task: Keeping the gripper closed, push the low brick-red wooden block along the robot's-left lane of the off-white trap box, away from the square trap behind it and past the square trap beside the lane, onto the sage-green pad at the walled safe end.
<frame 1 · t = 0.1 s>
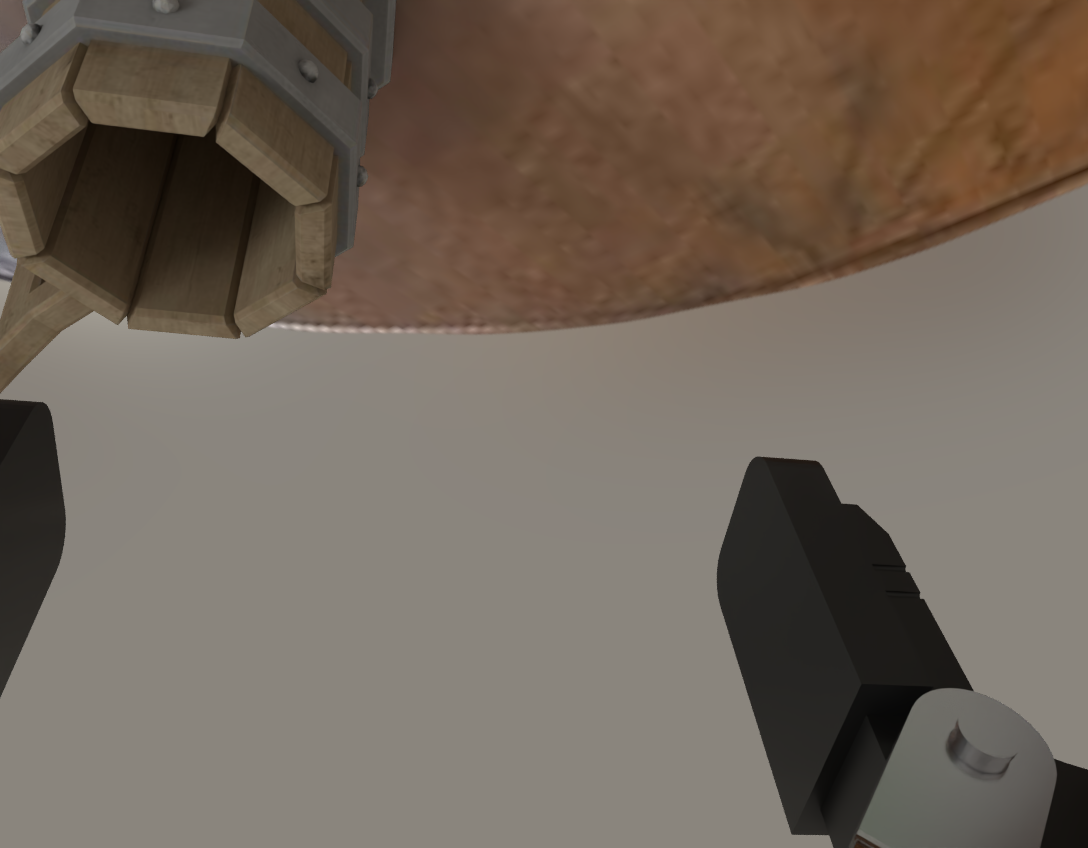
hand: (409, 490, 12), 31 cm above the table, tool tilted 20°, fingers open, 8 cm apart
tankard: (173, 25, 42), on the table
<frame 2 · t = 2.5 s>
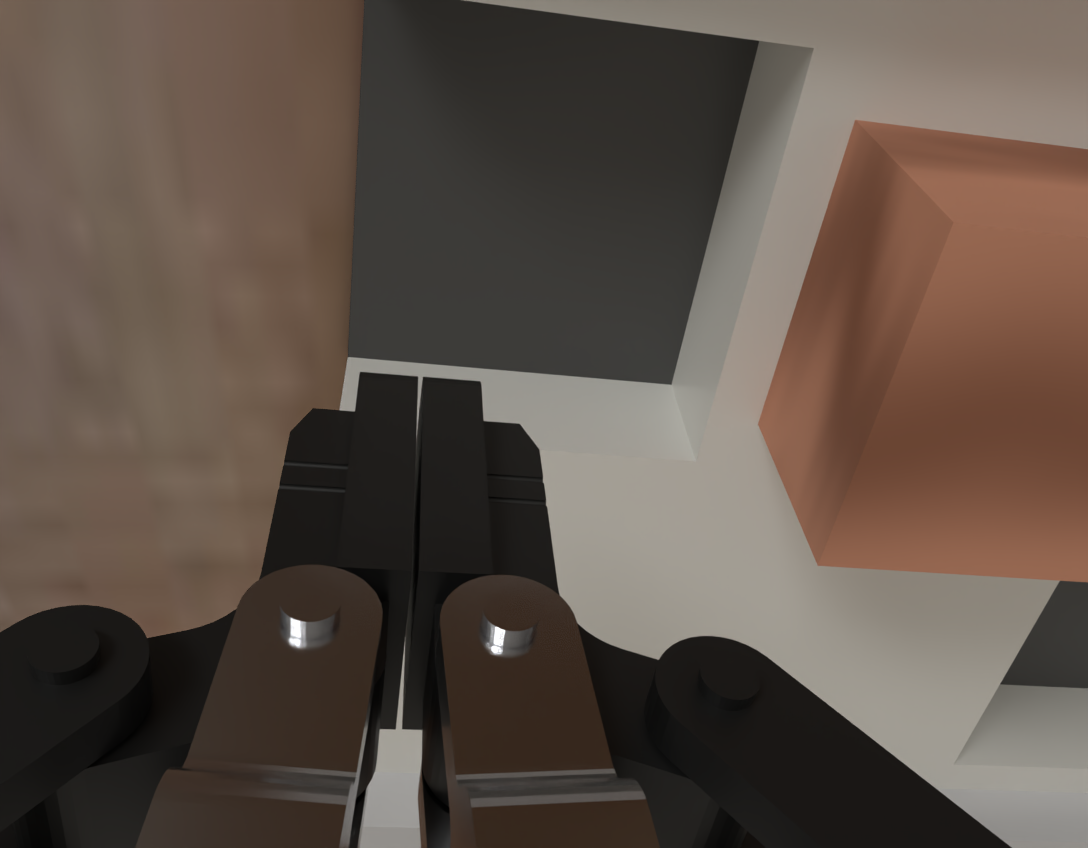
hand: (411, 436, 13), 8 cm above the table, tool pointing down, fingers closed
trap box: (1082, 415, 24), on the table
block: (959, 301, 19), point 3 cm above the table, touching trap box
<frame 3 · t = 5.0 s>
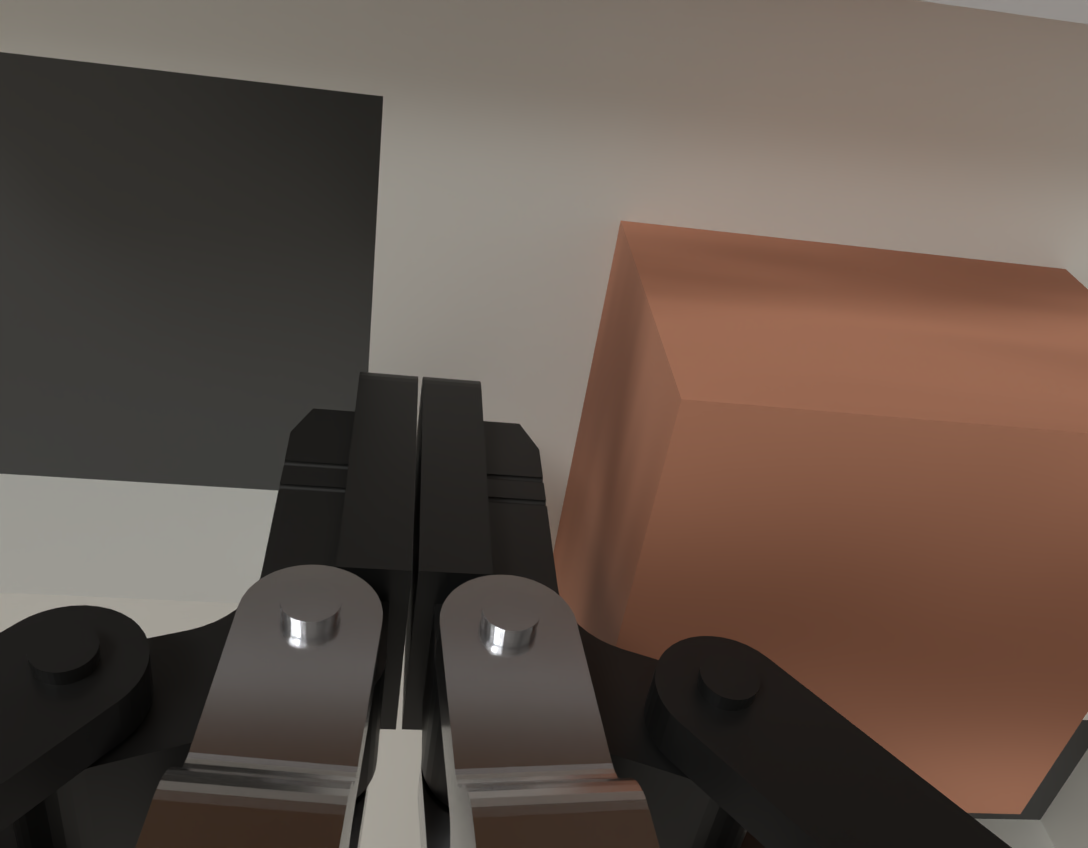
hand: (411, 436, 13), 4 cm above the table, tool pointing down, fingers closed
trap box: (891, 521, 20), on the table
block: (785, 437, 15), point 3 cm above the table, touching gripper
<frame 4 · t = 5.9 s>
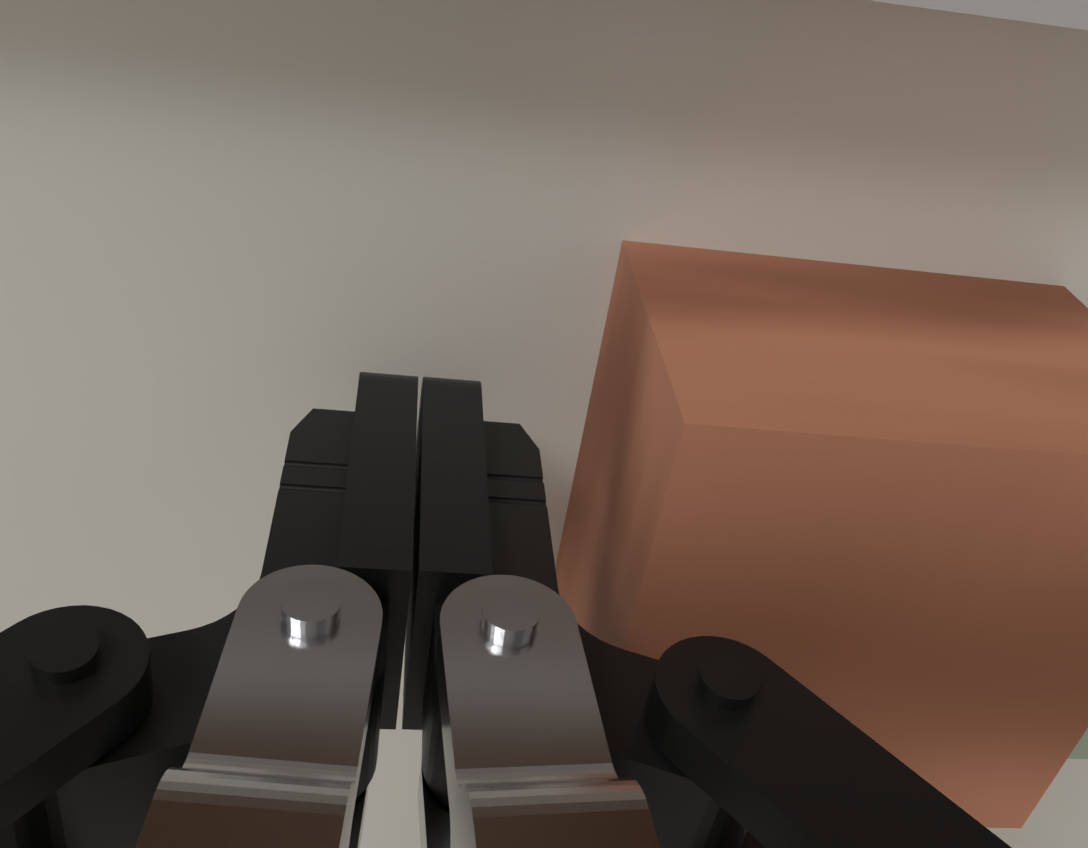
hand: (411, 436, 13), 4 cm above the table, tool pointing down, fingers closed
trap box: (618, 509, 19), on the table
block: (786, 452, 15), point 3 cm above the table, touching trap box
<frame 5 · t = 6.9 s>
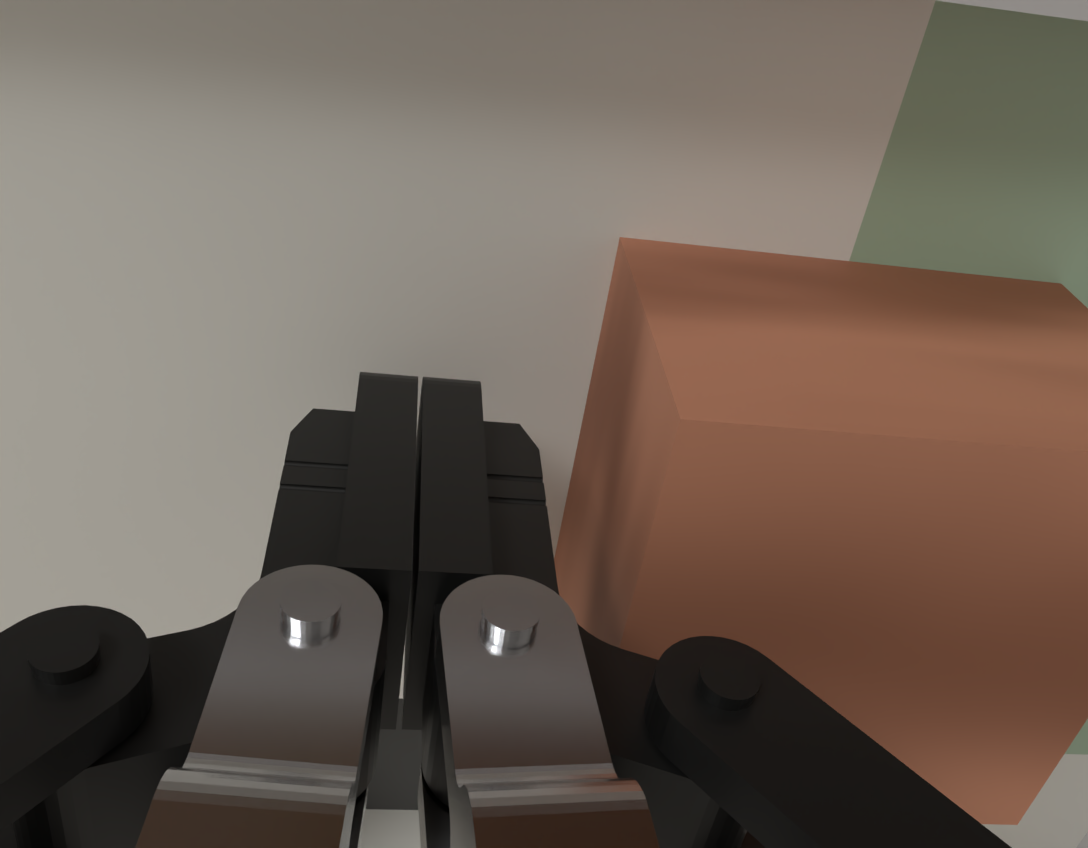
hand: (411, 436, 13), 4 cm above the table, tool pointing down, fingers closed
trap box: (310, 486, 18), on the table
block: (783, 449, 15), point 3 cm above the table, touching gripper
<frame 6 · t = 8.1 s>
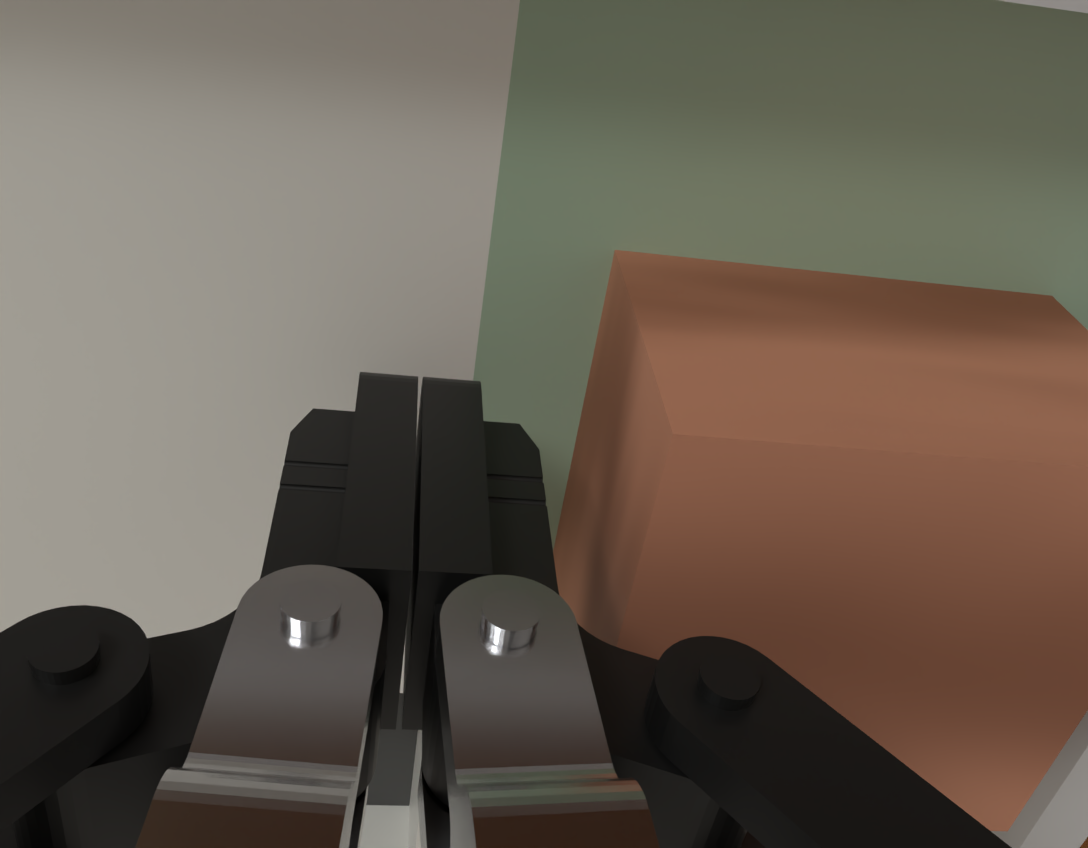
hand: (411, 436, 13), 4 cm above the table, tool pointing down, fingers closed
trap box: (33, 463, 18), on the table
block: (777, 458, 15), point 3 cm above the table, touching gripper, trap box
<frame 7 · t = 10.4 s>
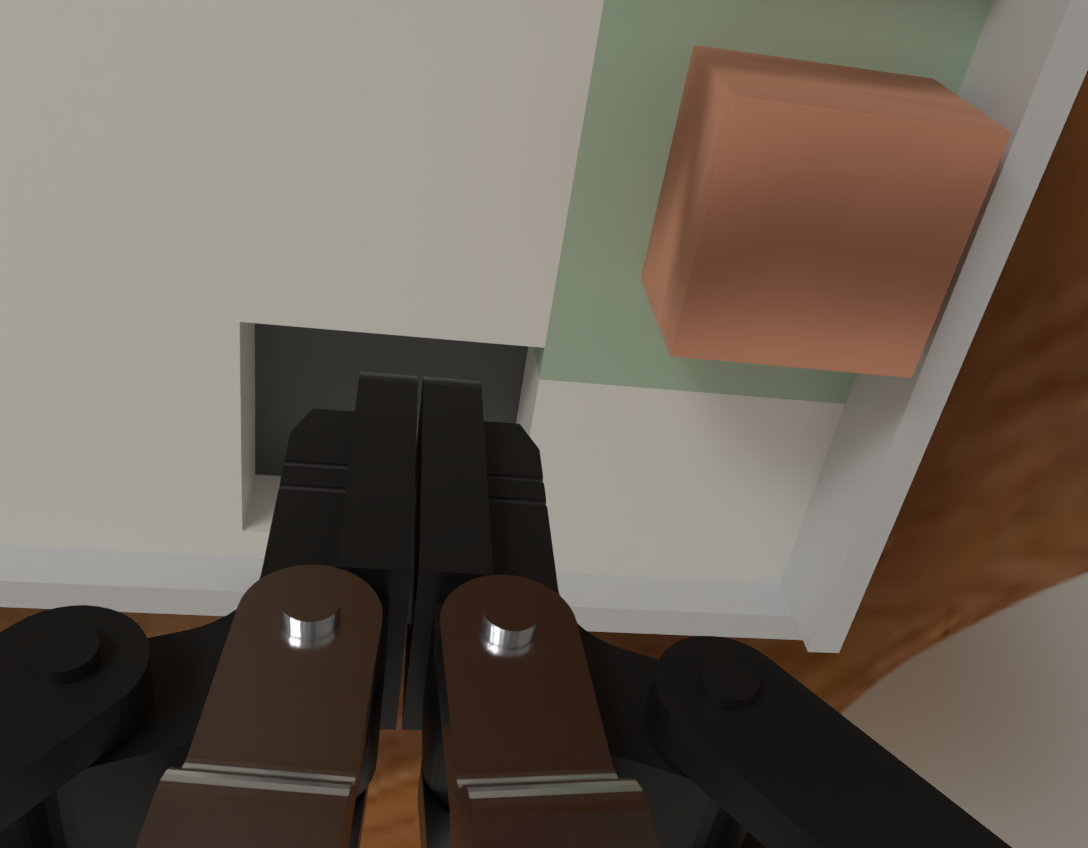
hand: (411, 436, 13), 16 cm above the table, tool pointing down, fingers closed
trap box: (293, 208, 28), on the table
block: (780, 183, 26), point 3 cm above the table, touching trap box
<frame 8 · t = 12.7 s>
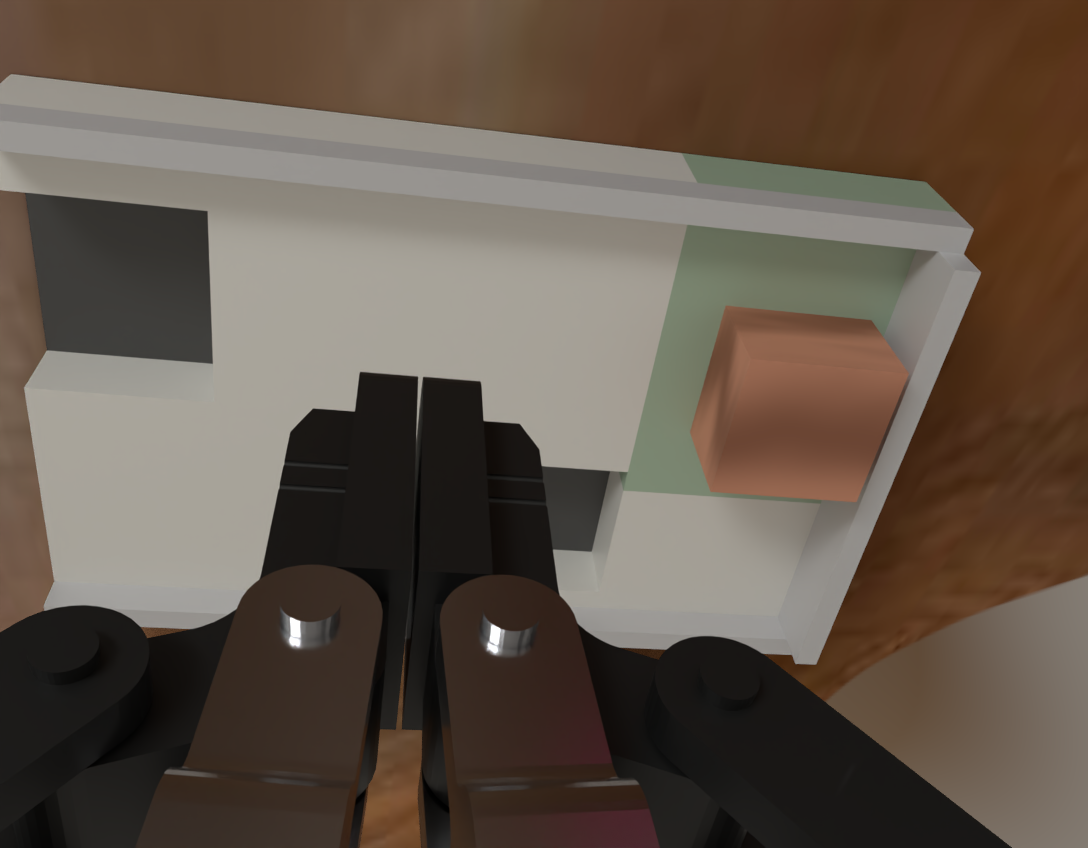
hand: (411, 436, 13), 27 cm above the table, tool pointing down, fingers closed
trap box: (467, 381, 44), on the table
block: (778, 377, 42), point 3 cm above the table, touching trap box
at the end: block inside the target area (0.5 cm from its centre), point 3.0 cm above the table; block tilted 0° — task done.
